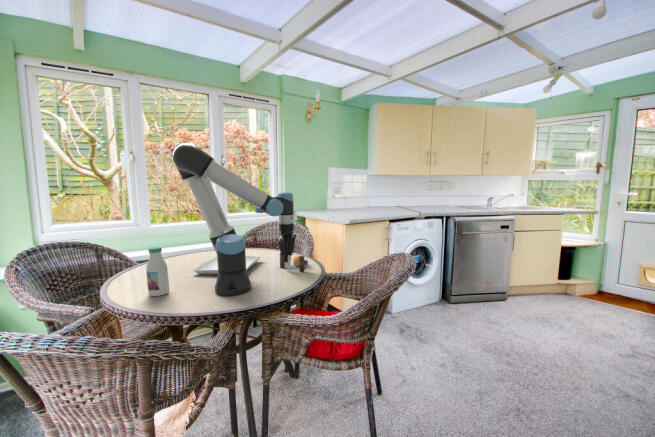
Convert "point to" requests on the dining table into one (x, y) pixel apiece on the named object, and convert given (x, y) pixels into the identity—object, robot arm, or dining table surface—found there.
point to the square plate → (212, 265)
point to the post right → (301, 264)
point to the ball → (296, 261)
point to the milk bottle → (157, 273)
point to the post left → (282, 261)
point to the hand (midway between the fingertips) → (287, 267)
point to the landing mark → (297, 267)
